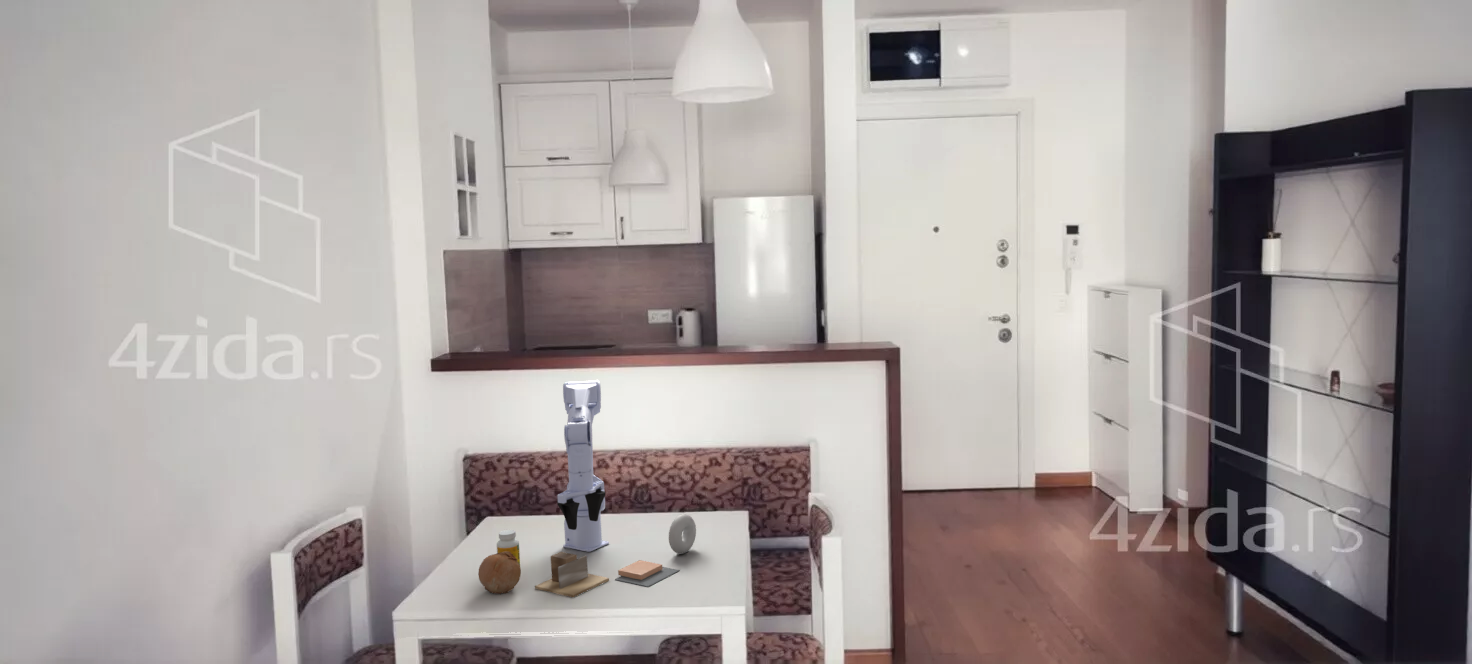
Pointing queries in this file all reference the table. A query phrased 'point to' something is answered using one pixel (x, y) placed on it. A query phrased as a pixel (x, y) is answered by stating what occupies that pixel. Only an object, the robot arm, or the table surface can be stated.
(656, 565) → the tile
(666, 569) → the slate mat
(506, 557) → the onion
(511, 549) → the supplement bottle
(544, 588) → the oak board
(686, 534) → the donut
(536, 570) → the table surface
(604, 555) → the table surface
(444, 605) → the table surface
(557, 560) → the brown grey t-shaped block
